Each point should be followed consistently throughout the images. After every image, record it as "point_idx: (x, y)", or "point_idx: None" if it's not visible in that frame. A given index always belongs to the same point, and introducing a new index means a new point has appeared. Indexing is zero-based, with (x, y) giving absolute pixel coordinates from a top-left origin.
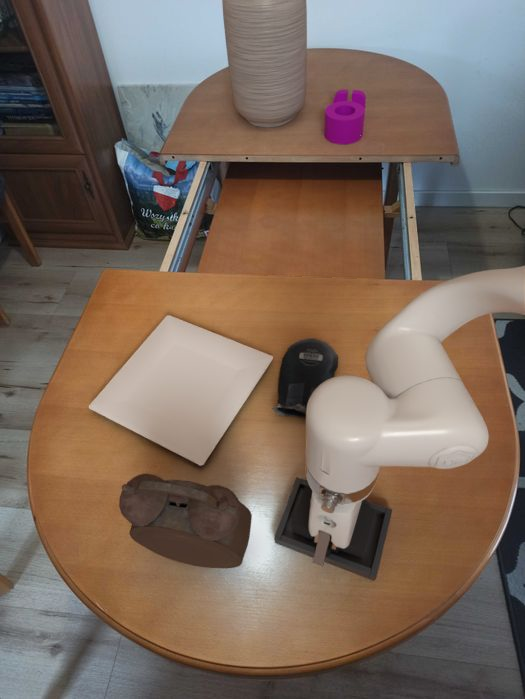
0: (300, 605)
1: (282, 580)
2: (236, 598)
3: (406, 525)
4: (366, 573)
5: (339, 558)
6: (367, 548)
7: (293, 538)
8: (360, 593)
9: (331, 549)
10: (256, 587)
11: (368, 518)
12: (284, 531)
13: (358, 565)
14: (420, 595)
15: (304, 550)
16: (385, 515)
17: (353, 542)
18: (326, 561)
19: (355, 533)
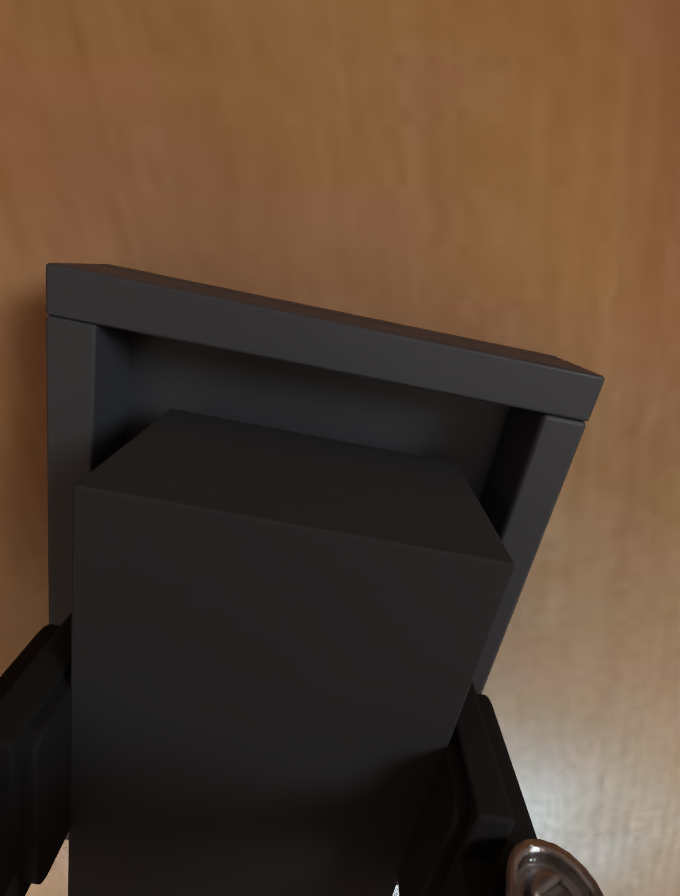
0: (667, 691)
1: (557, 762)
2: (626, 883)
3: (152, 135)
4: (575, 444)
5: None
6: (374, 417)
7: None
8: (622, 432)
9: (503, 763)
10: (586, 836)
11: (194, 546)
12: None
13: (527, 501)
14: (650, 12)
15: None
16: (119, 323)
17: (450, 656)
18: None
19: (364, 642)
